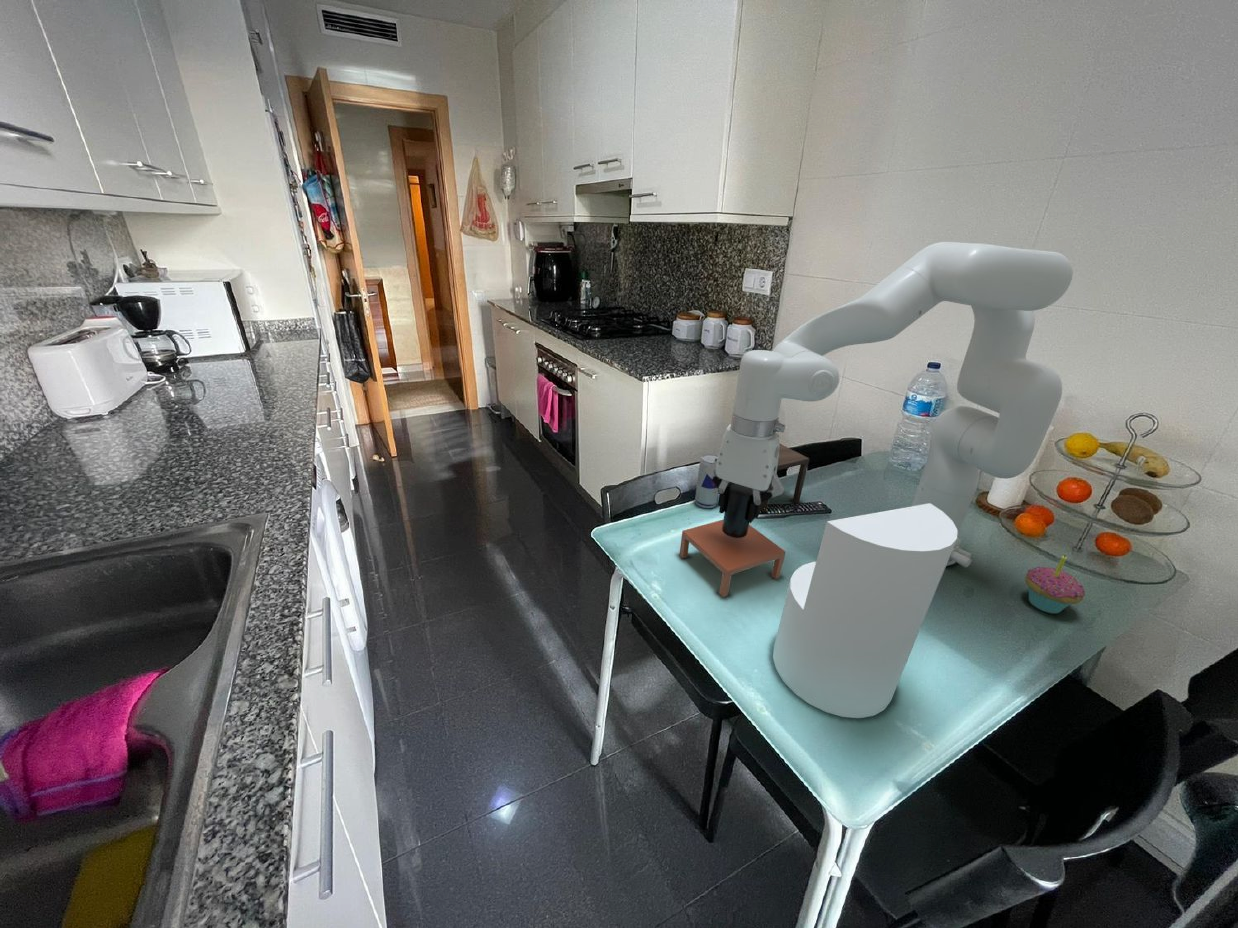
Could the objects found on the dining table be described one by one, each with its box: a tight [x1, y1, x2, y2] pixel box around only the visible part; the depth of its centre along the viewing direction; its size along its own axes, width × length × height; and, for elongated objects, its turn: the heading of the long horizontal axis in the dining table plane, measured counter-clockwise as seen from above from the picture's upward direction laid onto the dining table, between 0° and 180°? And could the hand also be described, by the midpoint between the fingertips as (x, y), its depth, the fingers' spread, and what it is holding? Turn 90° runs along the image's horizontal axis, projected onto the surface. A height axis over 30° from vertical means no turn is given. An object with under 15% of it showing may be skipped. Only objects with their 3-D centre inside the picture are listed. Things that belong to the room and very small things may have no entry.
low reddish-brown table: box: [679, 519, 787, 598], centre depth 98 cm, size 14×14×6 cm
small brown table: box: [730, 442, 810, 513], centre depth 123 cm, size 12×12×12 cm
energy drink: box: [694, 453, 720, 509], centre depth 118 cm, size 5×5×12 cm
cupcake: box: [1024, 553, 1086, 614], centre depth 90 cm, size 9×8×12 cm
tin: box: [722, 484, 754, 538], centre depth 93 cm, size 5×5×9 cm
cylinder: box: [772, 503, 958, 719], centre depth 71 cm, size 17×17×28 cm
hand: (737, 513), depth 94 cm, fingers closed on tin, 4 cm apart
